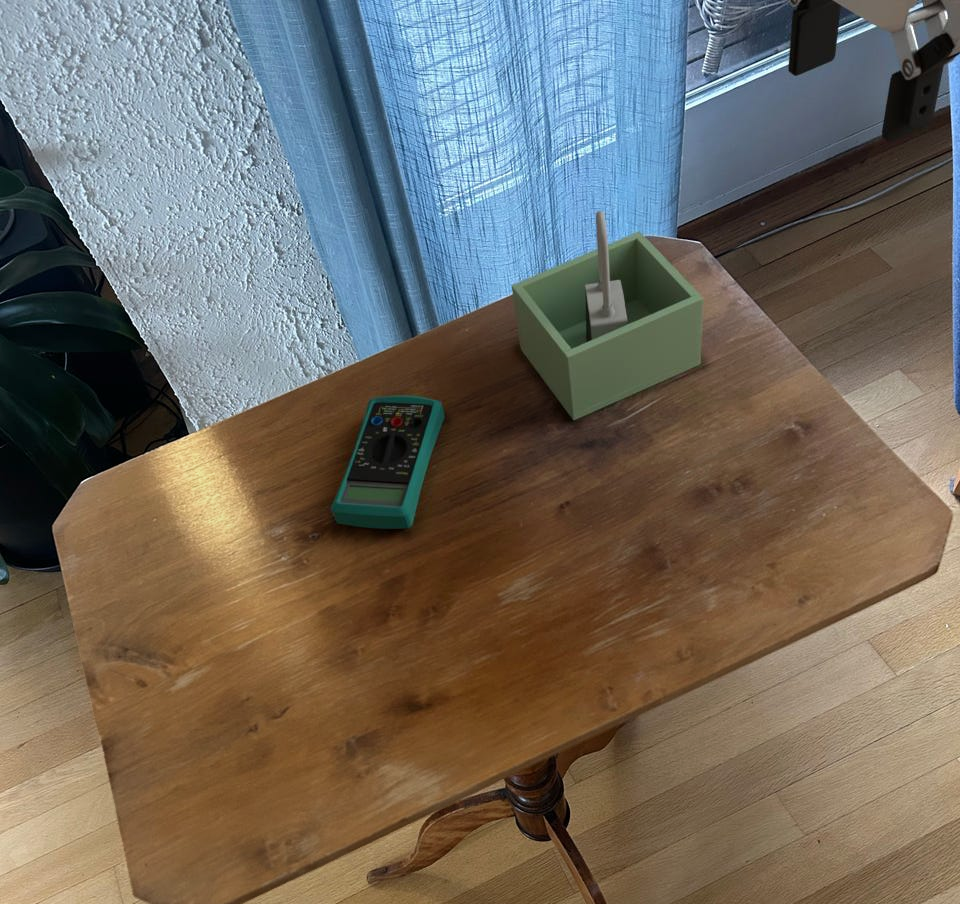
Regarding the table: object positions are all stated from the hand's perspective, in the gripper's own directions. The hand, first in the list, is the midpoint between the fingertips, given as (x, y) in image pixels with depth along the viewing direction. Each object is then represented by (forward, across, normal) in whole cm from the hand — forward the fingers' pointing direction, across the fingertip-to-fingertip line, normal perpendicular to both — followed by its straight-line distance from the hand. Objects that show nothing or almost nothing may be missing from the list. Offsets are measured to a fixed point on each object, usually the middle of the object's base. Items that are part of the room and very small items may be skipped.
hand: (856, 98), depth 65 cm
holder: (+31, +20, +9) cm, 38 cm away
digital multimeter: (+31, +18, +33) cm, 49 cm away
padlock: (+30, +20, +9) cm, 37 cm away
